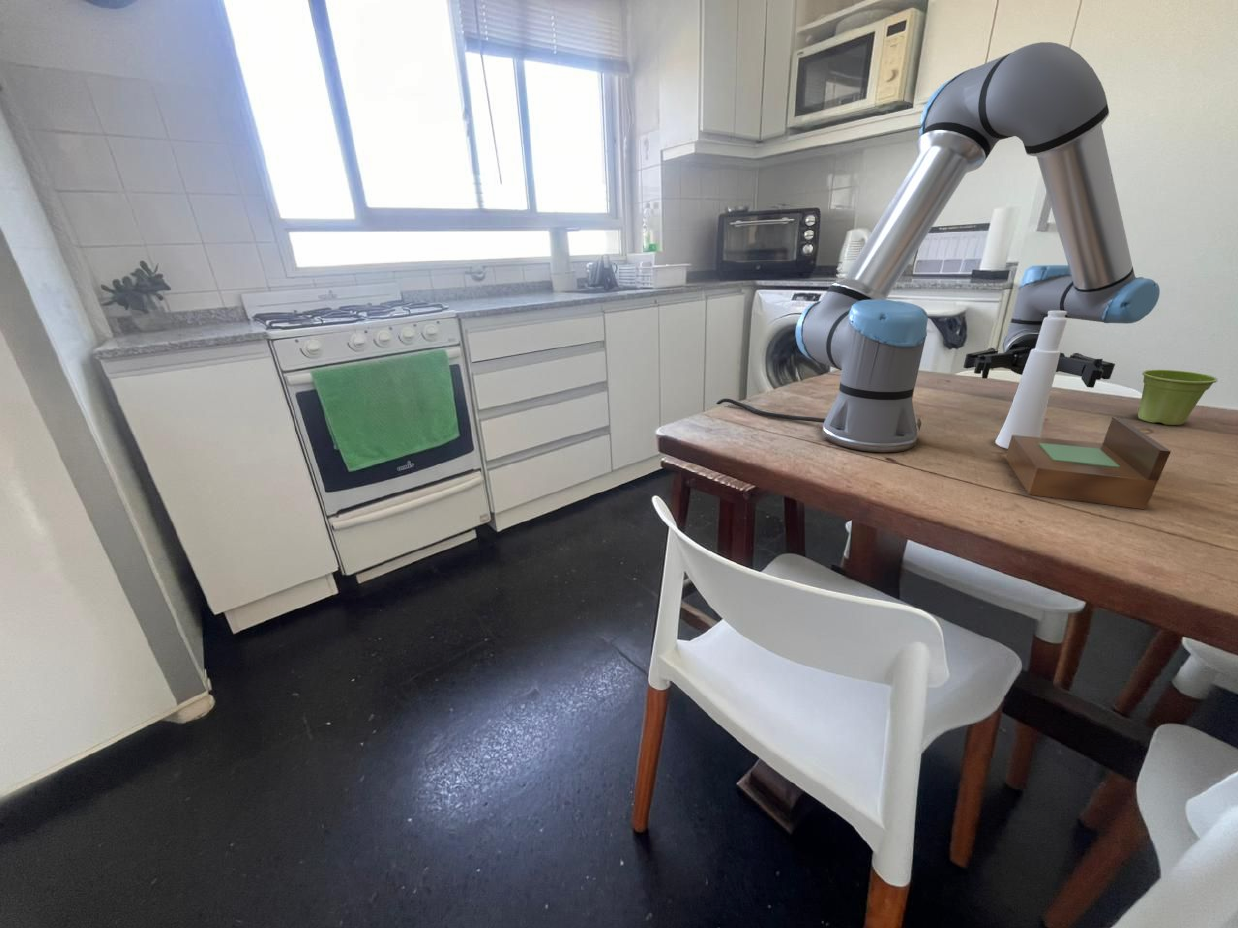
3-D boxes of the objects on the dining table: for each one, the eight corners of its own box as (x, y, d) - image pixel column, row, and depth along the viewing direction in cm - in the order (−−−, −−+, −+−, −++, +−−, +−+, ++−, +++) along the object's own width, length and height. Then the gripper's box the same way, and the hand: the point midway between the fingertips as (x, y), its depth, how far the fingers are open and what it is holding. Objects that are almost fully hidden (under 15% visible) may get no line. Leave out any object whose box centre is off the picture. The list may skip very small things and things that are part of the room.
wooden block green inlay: (1028, 494, 67) (1046, 439, 64) (1004, 458, 79) (1019, 410, 76) (1145, 509, 62) (1171, 451, 59) (1102, 468, 74) (1121, 417, 71)
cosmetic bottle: (1049, 450, 81) (1095, 312, 73) (1018, 453, 80) (1060, 314, 72) (1015, 438, 87) (1054, 308, 78) (986, 441, 86) (1022, 310, 77)
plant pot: (1213, 428, 88) (1235, 380, 85) (1159, 429, 88) (1179, 382, 85) (1161, 412, 97) (1179, 369, 93) (1112, 414, 97) (1128, 370, 94)
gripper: (1108, 378, 91) (1134, 407, 75) (949, 366, 104) (942, 388, 88) (1123, 337, 88) (1153, 357, 72) (957, 330, 101) (952, 346, 85)
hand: (1037, 374), depth 80 cm, fingers open, 13 cm apart
